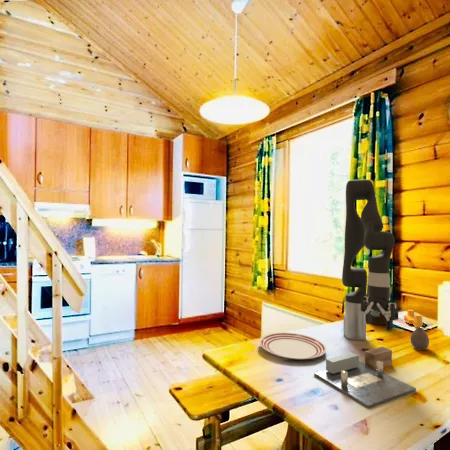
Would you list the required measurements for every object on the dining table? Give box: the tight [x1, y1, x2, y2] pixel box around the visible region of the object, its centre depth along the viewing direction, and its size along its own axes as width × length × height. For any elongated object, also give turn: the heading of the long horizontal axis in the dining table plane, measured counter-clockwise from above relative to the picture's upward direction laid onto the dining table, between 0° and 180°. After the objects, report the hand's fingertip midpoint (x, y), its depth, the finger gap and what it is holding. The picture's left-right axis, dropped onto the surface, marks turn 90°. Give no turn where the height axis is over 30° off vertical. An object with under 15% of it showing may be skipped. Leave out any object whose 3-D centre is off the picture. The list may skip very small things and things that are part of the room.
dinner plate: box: [259, 332, 327, 361], centre depth 131 cm, size 28×27×3 cm
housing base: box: [313, 361, 417, 410], centre depth 103 cm, size 22×22×6 cm
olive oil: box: [366, 291, 387, 326], centre depth 172 cm, size 11×11×25 cm
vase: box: [410, 327, 430, 351], centre depth 135 cm, size 7×7×9 cm
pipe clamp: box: [403, 309, 423, 328], centre depth 169 cm, size 12×4×6 cm, turn 170°
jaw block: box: [364, 346, 393, 369], centre depth 117 cm, size 4×10×6 cm, turn 117°
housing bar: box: [325, 352, 360, 374], centre depth 111 cm, size 3×13×4 cm, turn 116°
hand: (378, 327), depth 117 cm, fingers open, 8 cm apart
